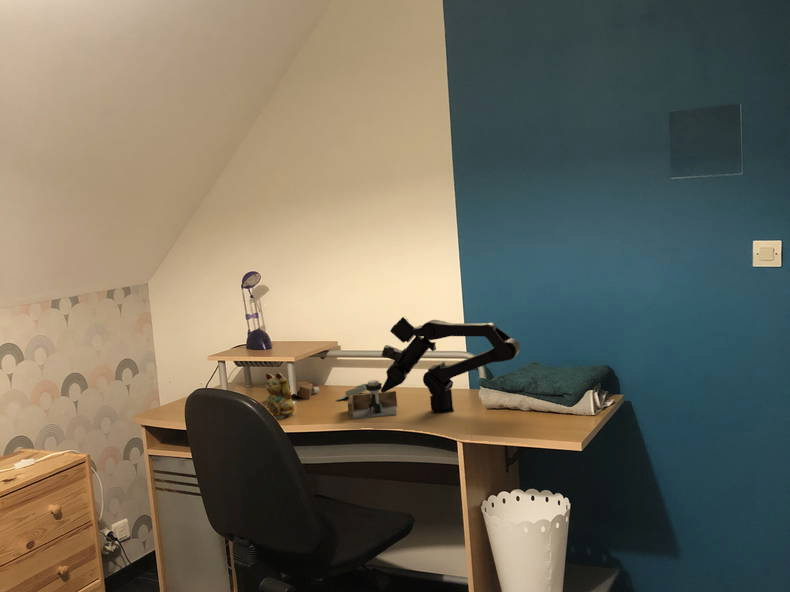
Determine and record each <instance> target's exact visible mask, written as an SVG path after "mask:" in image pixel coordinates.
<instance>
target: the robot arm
mask: <svg viewBox="0 0 790 592" xmlns="http://www.w3.org/2000/svg"><path fill="white" fill-rule="evenodd" d="M389 332H390V333H391V334H392V335H394V336H395V337H396V338H397V339H398V340H399V341H400V342H402V344H404V343H406V342H407V343H409V344H408V345H407V346H406V348H403V350H402V349H399V348H397V347H393V346H391V345H389V344H386V345H384V346H383V350H382V353H381V357H383V358H386V359H390V360H392V361H393V363H392V364H391V365H390V366H389V367H388V369H386V373H385V374H386V380H385V381H384V384H382V386H381V389H380V392H382V393H384V392H389V390H391V389H393V388H396V387H397V386H399V385H402V384H403V383H404V382H405V380H406V379H407V377H408V375H409V374H410V373H411V371H412V370H413V368H414V367H415V366H416V365H417V364H418V363H419V361H420V360H421V359H422V358H423V356H424V355H425V354H426V353H427V352H428V350H431V352H434V351H436V350H437V347H436V343H437V342H436V341H435V340H439V339H444V338H448V337H449V338H450V337H484V338H486V339H487V340H488V342H489V344H490V345H491V346H492V348H491V349H489V350H487V351H486V350H485V351H484V352H480V353H479V354H476V355H474V356H471V357H467V358H466V359H463V360H461V361H460V360H459V361H458V362H455V363H453V364H450V365H448V364H446V363H445V361H442V362H441V363H439V364H434V365H433V366H431V367H429V368H428V369H427V371H426V372H425V373H424V374H423V377H422V382H423V384H424V386H425V387H426V388H428V391H429V394H430V396H429V400H430V409H431V411H432V412H433V414H436V413H447V412H454V411H455V410H454V405H453V404H454V403H453V394H452V393H453V392H452V388H453V386H454V385H453V384H454V382H453V381H452V380H451V379H452V378H455V377H457V376H460V375H462V374H465V373H468V372H470V371H474V370H476V369H479V368H481V367H484V366H486V365H488V364H491V363H500V362H507V361H511V360H513V359H514V358H516V356H518V354H519V353H520V351H521V345H520V343H519V341H517V339H515V338H512V337H511V336H509V335H508V334H507V333H506V332H504V331H503V330H501V329H500V328H499V327H498V326H496V325H495V323H493V322H487V323H484V322H483V323H476V322H475V323H452V322H447V321H445V320H440V319H431V320H429V321H427V322H424V323H423V325H418V326H416V325H415V324H413V322H411V321H410V320H409V318H407V317H406V316H402V317H401V318H400V319H399V320H398V321H397V322H396V323H395V324H394V325H393V326H392V327H391V329H390V331H389Z"/></svg>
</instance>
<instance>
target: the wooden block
mask: <svg viewBox="0 0 790 592" xmlns="http://www.w3.org/2000/svg"><path fill="white" fill-rule="evenodd" d="M289 382H290V381H288V386H289V390H290V385H289ZM295 382H296V390H297V396H296V397H299V398H302V399H305V400H310V399H311V397H312V394H318V393H320V387H318V386H313V384H312V383H310V382H308V381H298V380H295ZM269 394H270V392H268V395H269Z"/></svg>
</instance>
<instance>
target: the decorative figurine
mask: <svg viewBox="0 0 790 592" xmlns="http://www.w3.org/2000/svg"><path fill="white" fill-rule="evenodd" d="M265 378H266V380H267V381H266V382H265V383H266V384H265V390H266V391H267V392H268V396H267V397H266V400H265V401H266V408H267V409H268V411H270V412H271V413H272V414H273V416H274V417H275V418H274V419H281V420H282V419H285V418H289V417H291V416H293V413H294V412H295V404H294V403H293V402H294V401H293V399H292V396H291V392H290V390H289V386H288V382H289V381H288V379H287V378H286V377H285V376H283V374H282V373H281V372H277V373H276V374H275V376H274V375H273V374H271V373H266V374H265ZM269 392H270V394H269Z"/></svg>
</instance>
